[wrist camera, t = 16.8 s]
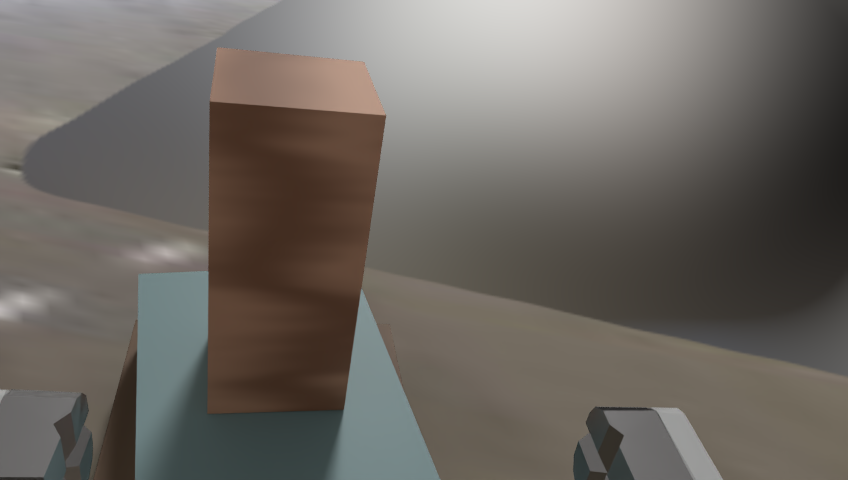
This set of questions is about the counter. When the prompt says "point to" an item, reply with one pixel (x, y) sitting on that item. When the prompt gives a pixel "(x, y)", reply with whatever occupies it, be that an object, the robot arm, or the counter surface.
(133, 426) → the block
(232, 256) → the terracotta block
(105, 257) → the counter surface
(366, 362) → the tower top
